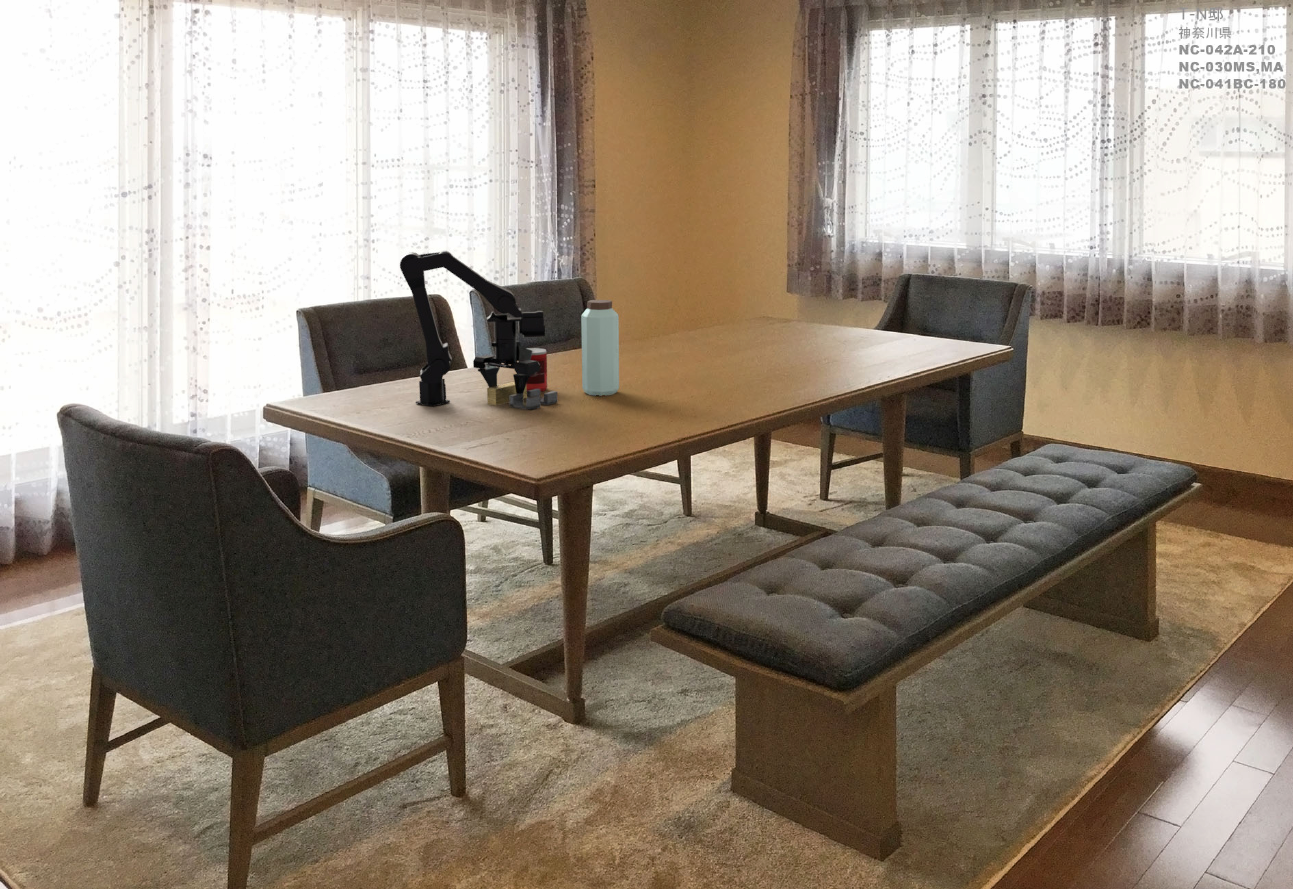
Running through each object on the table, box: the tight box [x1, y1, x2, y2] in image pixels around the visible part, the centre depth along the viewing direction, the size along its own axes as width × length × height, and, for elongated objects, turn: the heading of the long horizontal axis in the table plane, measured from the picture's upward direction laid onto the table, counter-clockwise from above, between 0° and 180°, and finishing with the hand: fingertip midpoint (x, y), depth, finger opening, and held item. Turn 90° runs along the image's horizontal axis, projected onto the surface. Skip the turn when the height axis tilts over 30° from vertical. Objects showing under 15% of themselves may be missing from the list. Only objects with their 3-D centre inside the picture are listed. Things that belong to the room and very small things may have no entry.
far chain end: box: [527, 389, 558, 406], centre depth 326 cm, size 4×7×3 cm, turn 55°
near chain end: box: [508, 393, 541, 411], centre depth 321 cm, size 4×7×3 cm, turn 55°
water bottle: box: [580, 299, 620, 397], centre depth 336 cm, size 10×10×25 cm
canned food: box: [518, 347, 548, 393], centre depth 342 cm, size 8×8×11 cm
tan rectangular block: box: [486, 381, 527, 406], centre depth 328 cm, size 12×3×4 cm, turn 144°
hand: (507, 396), depth 329 cm, fingers open, 8 cm apart
